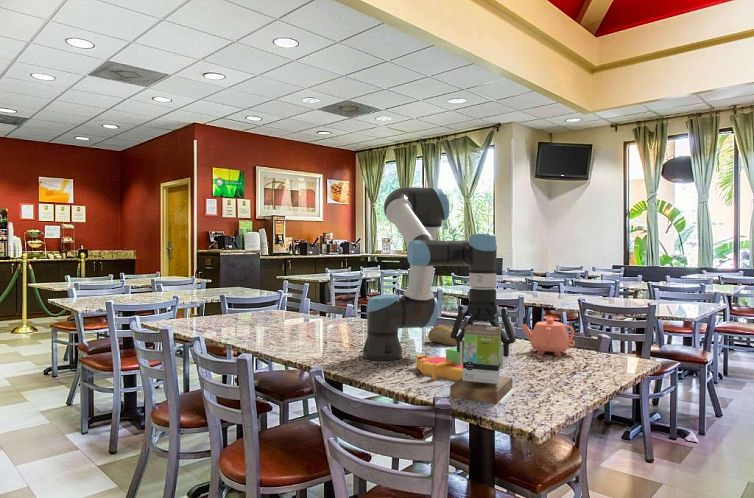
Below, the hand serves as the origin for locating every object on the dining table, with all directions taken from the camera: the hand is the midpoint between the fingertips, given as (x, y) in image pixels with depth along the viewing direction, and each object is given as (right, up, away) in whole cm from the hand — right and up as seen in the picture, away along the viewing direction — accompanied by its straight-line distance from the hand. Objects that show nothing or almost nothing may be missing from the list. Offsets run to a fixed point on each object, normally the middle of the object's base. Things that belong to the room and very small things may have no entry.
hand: (482, 365), depth 150 cm
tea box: (0, -3, 0) cm, 3 cm away
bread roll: (-1, -8, +79) cm, 79 cm away
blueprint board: (-1, -8, 0) cm, 8 cm away
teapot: (+38, -8, +61) cm, 72 cm away
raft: (-5, -9, +23) cm, 25 cm away
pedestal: (0, -7, 0) cm, 7 cm away
